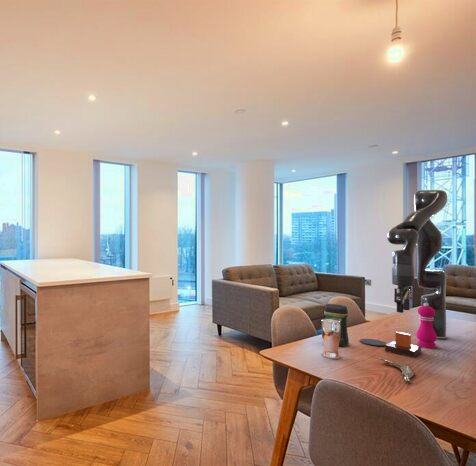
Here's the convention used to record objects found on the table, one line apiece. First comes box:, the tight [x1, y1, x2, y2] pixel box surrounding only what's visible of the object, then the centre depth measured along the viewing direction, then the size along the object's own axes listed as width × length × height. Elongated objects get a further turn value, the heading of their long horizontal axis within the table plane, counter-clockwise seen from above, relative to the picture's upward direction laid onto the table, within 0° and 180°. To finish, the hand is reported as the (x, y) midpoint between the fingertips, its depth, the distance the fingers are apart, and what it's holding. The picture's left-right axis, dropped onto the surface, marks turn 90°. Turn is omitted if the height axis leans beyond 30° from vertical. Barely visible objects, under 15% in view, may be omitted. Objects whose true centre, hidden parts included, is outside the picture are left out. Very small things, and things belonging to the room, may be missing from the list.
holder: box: [384, 340, 422, 358], centre depth 147 cm, size 10×10×2 cm
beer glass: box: [321, 318, 341, 360], centre depth 141 cm, size 7×7×15 cm
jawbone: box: [376, 357, 415, 384], centre depth 123 cm, size 9×20×2 cm, turn 168°
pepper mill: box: [415, 303, 438, 349], centre depth 154 cm, size 7×7×20 cm
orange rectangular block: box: [395, 331, 412, 348], centre depth 147 cm, size 2×5×8 cm, turn 36°
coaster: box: [360, 338, 388, 348], centre depth 158 cm, size 10×10×1 cm
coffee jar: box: [323, 303, 350, 347], centre depth 158 cm, size 10×8×19 cm
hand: (403, 311), depth 146 cm, fingers open, 8 cm apart
